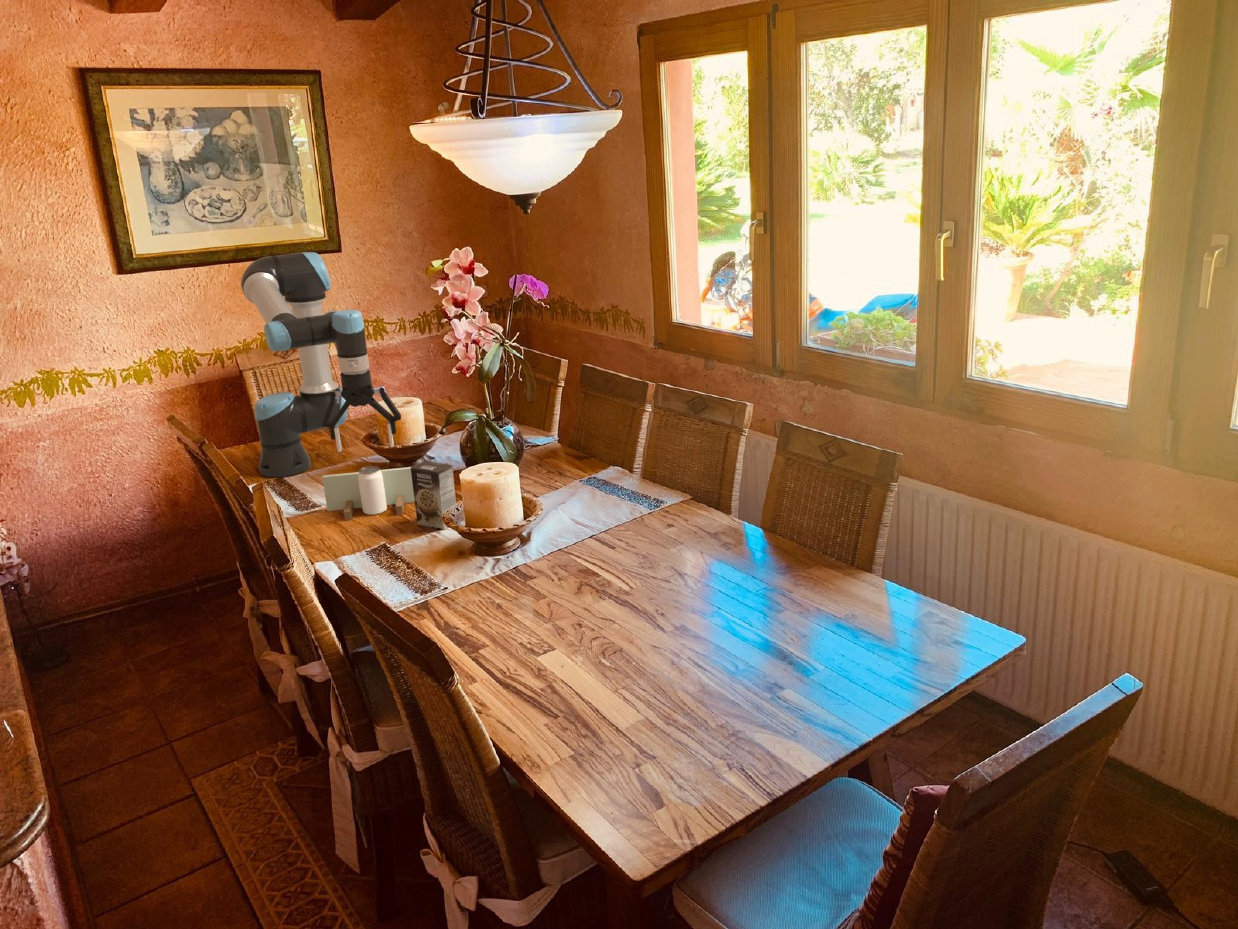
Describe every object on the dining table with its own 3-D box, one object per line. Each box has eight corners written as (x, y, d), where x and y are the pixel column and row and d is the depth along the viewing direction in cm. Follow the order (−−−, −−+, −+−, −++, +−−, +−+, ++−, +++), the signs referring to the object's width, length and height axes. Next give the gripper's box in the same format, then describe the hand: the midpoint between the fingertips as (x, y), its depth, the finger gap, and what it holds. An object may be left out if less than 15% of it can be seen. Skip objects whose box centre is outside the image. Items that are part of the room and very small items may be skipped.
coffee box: (416, 525, 242) (408, 467, 236) (431, 515, 247) (424, 459, 241) (444, 530, 238) (437, 472, 232) (459, 521, 243) (452, 463, 237)
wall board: (328, 509, 254) (322, 475, 251) (423, 499, 258) (419, 466, 254) (324, 522, 246) (318, 487, 242) (423, 512, 249) (418, 477, 246)
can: (373, 517, 248) (367, 475, 243) (358, 512, 251) (351, 471, 247) (392, 509, 252) (386, 468, 248) (376, 504, 256) (370, 463, 252)
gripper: (302, 378, 233) (315, 457, 240) (403, 370, 237) (413, 448, 244) (306, 371, 240) (319, 447, 247) (404, 363, 243) (414, 439, 251)
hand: (366, 448), depth 246 cm, fingers open, 13 cm apart
